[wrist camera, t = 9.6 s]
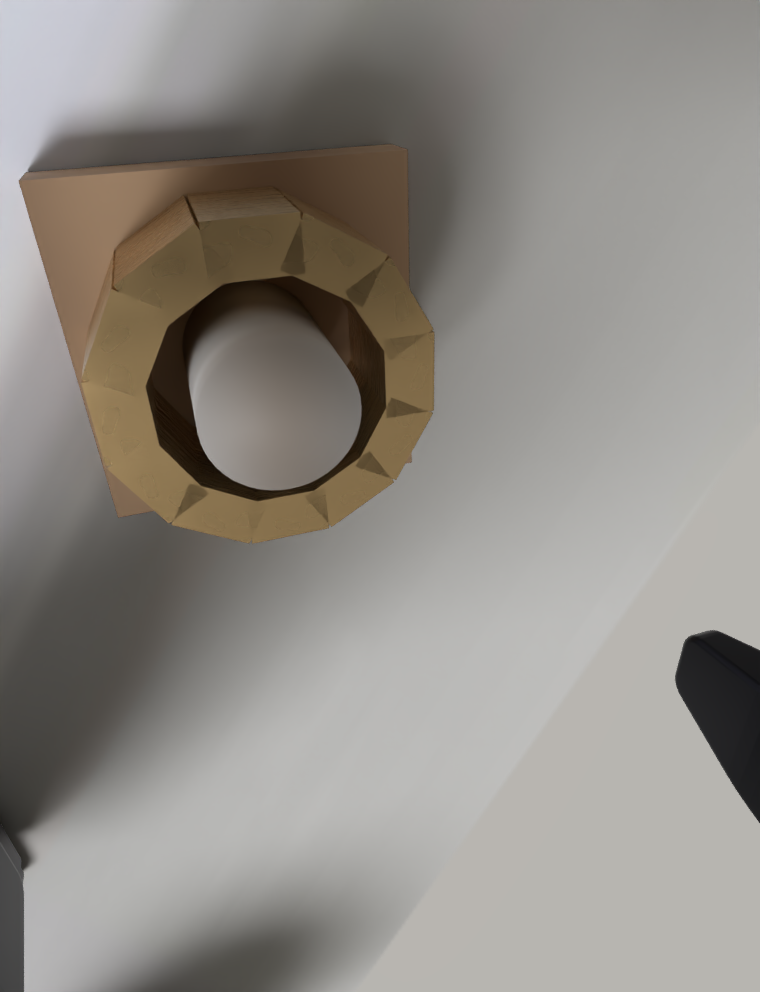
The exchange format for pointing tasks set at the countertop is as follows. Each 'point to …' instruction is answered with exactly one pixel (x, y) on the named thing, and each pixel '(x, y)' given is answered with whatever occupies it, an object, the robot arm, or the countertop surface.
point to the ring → (190, 278)
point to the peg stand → (232, 304)
